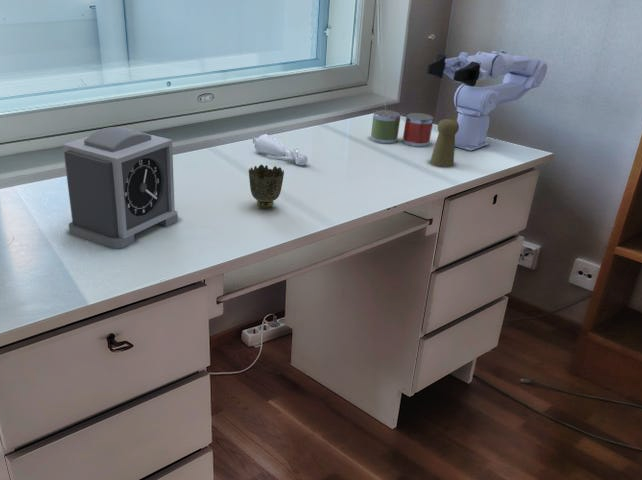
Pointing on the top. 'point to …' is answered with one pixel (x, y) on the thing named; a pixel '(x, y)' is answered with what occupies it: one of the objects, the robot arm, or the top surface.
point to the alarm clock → (119, 185)
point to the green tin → (385, 126)
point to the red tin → (417, 129)
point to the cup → (265, 184)
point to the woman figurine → (277, 150)
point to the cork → (445, 143)
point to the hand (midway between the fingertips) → (441, 72)
